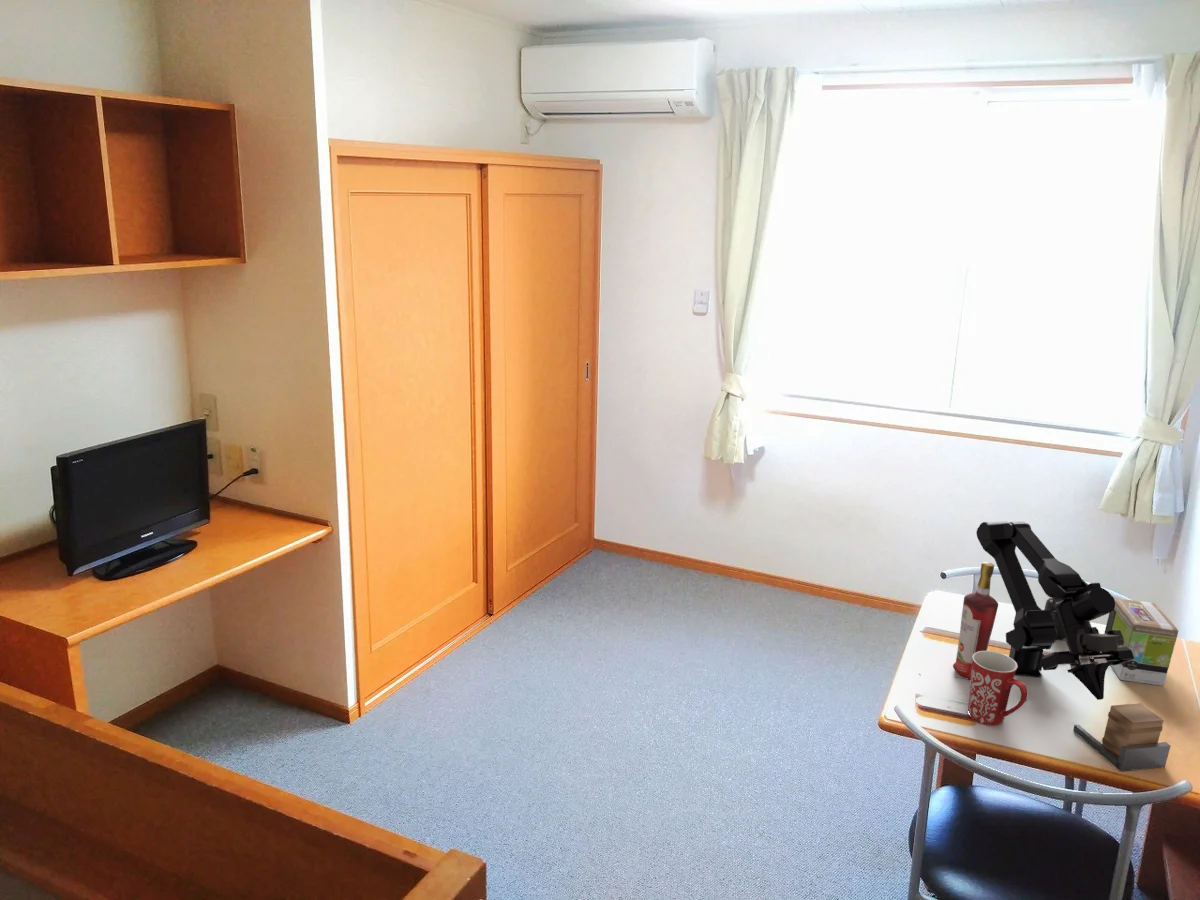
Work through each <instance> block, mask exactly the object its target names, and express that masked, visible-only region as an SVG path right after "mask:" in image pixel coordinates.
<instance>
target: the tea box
mask: <svg viewBox="0 0 1200 900" xmlns="http://www.w3.org/2000/svg"><path fill="white" fill-rule="evenodd" d="M1113 598H1114V600H1115V608H1114V610H1113V611H1112V612H1110V613H1108V617H1107V621H1106V624H1105V625H1106V626H1105V629H1104V633H1103V634H1107V632H1108V630H1120V631H1121V633H1122V636H1123V639H1124V644H1123V645H1118V647H1128V648H1129V649H1130V650H1131V651H1132V653H1133V656H1134V658H1135V659H1133V660H1130V661H1128V662H1125V663H1122V664H1119V665H1112V666H1111V668H1112V670H1114V673H1115V674H1116V675H1117V677H1118V679H1119V680H1120V681H1121V680H1122V681H1127V682H1131V683H1139V684H1145V683H1146V684H1147V685H1154V686H1164V685H1165V682H1166V679H1167V676H1168V675H1167V674H1168V670H1169V667H1170V664H1171V660H1172V656H1173V654H1174V649H1175V645H1176V642H1177V638H1178V635H1179V629H1178V628H1177V627H1176V626H1175V625H1174V623H1173V622H1172V621H1171V620H1170V618H1168V617H1167V615H1166V614H1165V613H1164V612H1163V611H1162V610H1161V608H1160V607H1159V605H1157V604H1156V603H1155V602H1149V601H1143V600H1133V599H1125V598H1118V597H1117V598H1116V597H1113Z"/></svg>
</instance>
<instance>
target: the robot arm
mask: <svg viewBox="0 0 1200 900" xmlns="http://www.w3.org/2000/svg"><path fill="white" fill-rule="evenodd" d="M976 538H977V539H978V542H979V544H980V545H981V548H982V549H983V550H984V551H985V552H986V553H987V554H989V556H991V557H992V558H993V559H994V561H995V563H996V566H997V569H998V571H999V574H1000V576H1001V579H1002V581H1003V583H1004V586H1005V588H1006V592H1007V594H1008V596H1009V598H1010V601H1011V604H1012V606H1013V609H1014V612H1015V616H1014V620H1013V624H1012V625H1013V628H1014V629H1012V630H1009V631H1008V632H1006V633H1005V642H1006V643H1007V644H1008V645H1009V646H1010V648H1009V649H1010V650H1009V655H1008V657H1010V658H1012V659H1013V660H1014V661H1015V662H1016V663H1017V665H1018V668H1017V670H1016V671H1015V675H1019V676H1027V677H1028V676H1030V677H1042V673H1041V671H1042V669H1043V671H1054V670H1057V668H1058V667H1059V666H1062V665H1064V666H1065V665H1070V668H1069V669H1067V670H1066V671H1067V673H1068V674H1072V675H1073V676H1074V677H1075V679H1077V680H1078V681H1080V682H1081V683H1082V685H1083V686H1084V687H1085V688H1086V689H1087V690H1088V691H1089V692H1090V694H1092V695H1093V696H1094V698H1095V699H1096V700H1097V701H1101V700H1103V699H1104V697H1105V696H1104V695H1105V694H1104V693H1105V677H1106V676H1105V675H1106V672H1107V670H1108V668H1109V667H1112V665H1119V664H1122V663H1125V662H1128V661H1130V660H1133V659H1135V658H1134V656H1133V653H1132V651H1131V650H1130V649H1129V648H1128V647H1118V645H1123V644H1124V639H1123V636H1122V633H1121V631H1120V630H1108V632H1107V634H1104V633H1100V631H1099V629H1098V628H1097V626H1093V627H1092V625H1091V622H1090V621H1093V620H1096V619H1098V618H1101V617H1103V616H1107V615H1109V613H1110V612H1112V611H1113V610H1114V608H1115V600H1114V598H1115V597H1114V596H1113V595H1112V594H1111V593H1110V592H1109V591H1108V590H1107V589H1105V588H1103V587H1102V586H1101V583H1100V582H1090V583H1087V582H1086V581H1085V580H1084V579H1082V577H1081V575H1080V574H1079V573H1078V572H1077V571H1076V570H1074V569H1073V568H1072V567H1071V566H1070V565H1068V564H1065V563H1064V562H1061V561H1059V560H1058V559H1057V558H1056V557H1055V556H1054V555H1053V553H1052V552H1051V551H1050V550H1049V549H1048V548H1047V547H1046V546H1045V543H1043V542H1042V541H1041V540H1040V538H1039V537H1038V536H1037V535H1036V534H1035V532H1034V531H1033V530H1032V526H1031V525H1030V523H1028V522H1026V521H1010V522H1009V521H983V522H981V523H980V524H979V526H978V527H977V528H976ZM1017 548H1018V550H1019V551H1020V552H1021V554H1022V555H1023V556H1024V557H1025V559H1027V561H1028V562H1029V564H1031V566H1032V567H1033V568H1034V570H1035V571H1036V572H1037V575H1038V576H1037V577H1038V578H1037V582H1038V583H1039V585H1040V587H1041V589H1042V591H1043V592H1044V593H1045V595H1046V596H1047V597H1048V598H1051V597H1058V598H1067V597H1071V598H1072V599H1065V600H1054V601H1053V604H1052V606H1051V607H1050V610H1044V609H1042V608H1040V607H1039V606H1038V604H1037V601H1036V599H1035V596H1034V595H1033V592H1032V590H1031V587H1030V584H1029V582H1028V580H1027V577H1026V574H1025V573H1024V570H1023V568H1022V566H1021V563H1020V559H1019V558H1018V556H1017V553H1016V549H1017ZM1051 612H1057V614H1058V617H1059V621H1060V624H1061V627H1062V630H1063V633H1064V634H1062V635H1060V637H1061V640H1060V641H1065V642H1066V645H1067V647H1068V648H1067V649H1068V650H1063V651H1062V650H1059V651H1053V652H1050V653H1049V654H1046V655H1045V654H1044V650H1050V649H1051V648H1052V647H1053V645H1054V643H1055V642H1056V638H1057V630H1056V627H1055V626H1057V625H1056V624H1055V622H1054V620H1053V618H1052V615H1051Z"/></svg>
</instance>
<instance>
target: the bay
mask: <svg viewBox="0 0 1200 900" xmlns="http://www.w3.org/2000/svg"><path fill="white" fill-rule="evenodd" d="M1073 732H1074V733H1076V734H1077V735H1078V736H1079V737H1080V738H1081V739H1082V740H1084V742H1086V743H1087V744H1088V745H1089V746H1090V747H1091V748H1093V749H1094V750H1095V751H1096V752H1097V753H1098V754H1100V755H1101V756H1102V757H1103V758H1104V759H1106V761H1107V762H1109V763H1110V764H1111V765H1113V766H1114V767H1115V768H1116V769H1117V770H1118V771H1119V772H1129V771H1139V770H1150V769H1158V768H1159V769H1160V768H1165V767H1166V764H1167V760H1168V756H1169V754H1170V750H1171V744H1170V743H1168V742H1166V741H1164V742H1158V743H1150V744H1140V745H1129V746H1122V747H1121V751H1120V755H1119V758H1118V757H1116V756H1115V755H1114V754H1113V753H1112V752H1111V751H1109V750H1108V749H1107V748H1106V747H1105V746H1104V745H1102V742H1100V741H1099V740H1098V739H1097V738H1095V737H1094V736H1093V735H1092V734H1090V733H1089V732H1088V731H1087V730H1086V729H1084V727H1082V726H1081V725H1080V724H1074V726H1073Z"/></svg>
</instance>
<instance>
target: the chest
mask: <svg viewBox="0 0 1200 900" xmlns="http://www.w3.org/2000/svg"><path fill="white" fill-rule="evenodd" d="M1109 709H1110V710H1109V711H1108V714H1107V717H1108V718H1107V721H1106V726H1105V730H1104V734H1103V737H1102V738H1101V744H1102V745H1104V746H1105V747H1106V748H1107V749H1108V750H1109V751H1111V752H1112V753H1113V754H1114V755H1115V756H1116V757H1118V758H1119V755H1120V751H1121V747H1122V746H1129V745H1140V744H1150V743H1159V741H1160V740H1159V738H1160V736H1161V733H1162V731H1163V725H1164V719H1163V718H1162V717H1160V716H1159V715H1157V714H1156V713H1155V712H1154V711H1152V710H1151V709H1150V708H1148V707H1147V706H1145V705H1144V704H1143V703H1141V702H1139V703H1137V702H1136V703H1127V704H1124V703H1123V704H1114V705H1110V708H1109Z"/></svg>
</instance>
